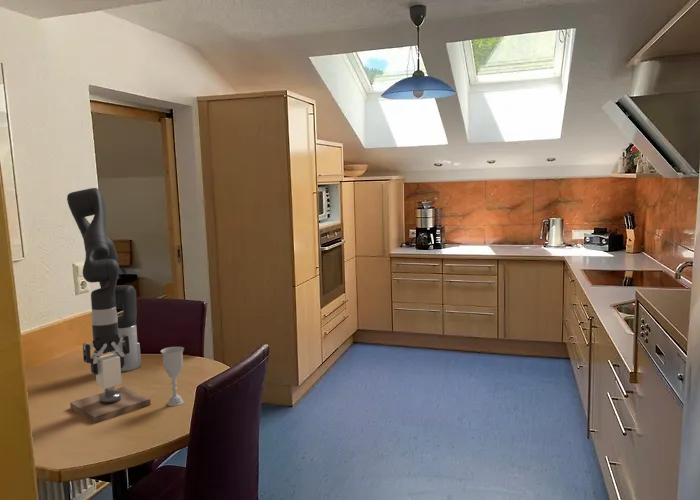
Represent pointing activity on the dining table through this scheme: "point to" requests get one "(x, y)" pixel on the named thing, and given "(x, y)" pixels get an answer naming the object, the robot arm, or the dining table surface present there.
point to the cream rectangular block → (109, 371)
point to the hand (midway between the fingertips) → (108, 370)
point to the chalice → (173, 370)
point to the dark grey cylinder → (110, 396)
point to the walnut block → (109, 405)
